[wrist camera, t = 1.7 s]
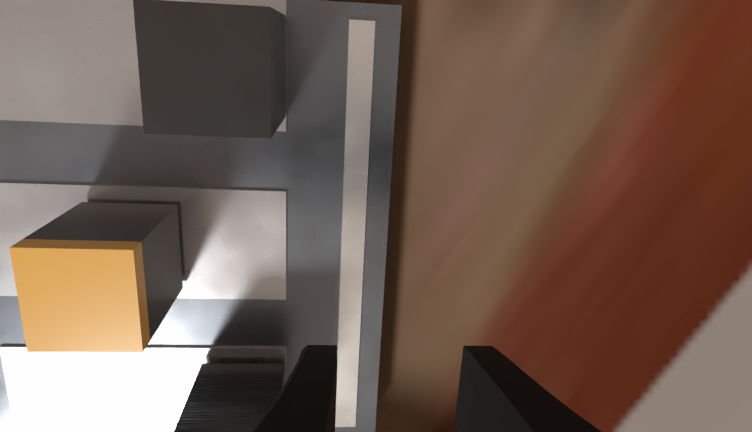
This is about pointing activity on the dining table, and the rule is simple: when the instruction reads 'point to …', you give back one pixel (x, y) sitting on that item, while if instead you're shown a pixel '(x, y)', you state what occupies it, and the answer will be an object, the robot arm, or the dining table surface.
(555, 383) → the dining table surface
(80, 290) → the block
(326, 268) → the panel
